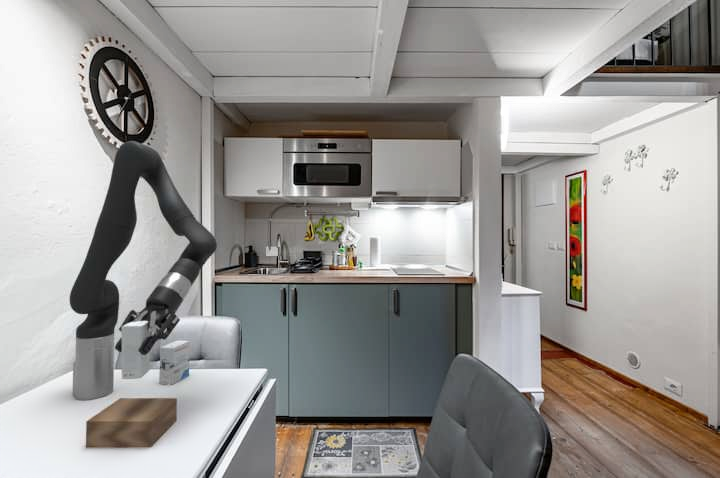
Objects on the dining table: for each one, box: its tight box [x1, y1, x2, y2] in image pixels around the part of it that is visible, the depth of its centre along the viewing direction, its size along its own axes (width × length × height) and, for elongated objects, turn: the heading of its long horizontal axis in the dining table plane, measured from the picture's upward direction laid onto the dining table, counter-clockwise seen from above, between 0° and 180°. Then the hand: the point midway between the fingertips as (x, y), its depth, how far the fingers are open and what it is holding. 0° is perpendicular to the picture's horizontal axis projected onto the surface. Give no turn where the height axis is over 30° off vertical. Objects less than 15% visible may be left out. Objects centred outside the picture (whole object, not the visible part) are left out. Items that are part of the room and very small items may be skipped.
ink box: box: [158, 340, 191, 386], centre depth 120 cm, size 9×5×12 cm, turn 168°
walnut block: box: [85, 397, 178, 449], centre depth 87 cm, size 14×12×6 cm
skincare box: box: [120, 321, 151, 380], centre depth 87 cm, size 6×4×12 cm
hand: (130, 351), depth 85 cm, fingers closed on skincare box, 6 cm apart
